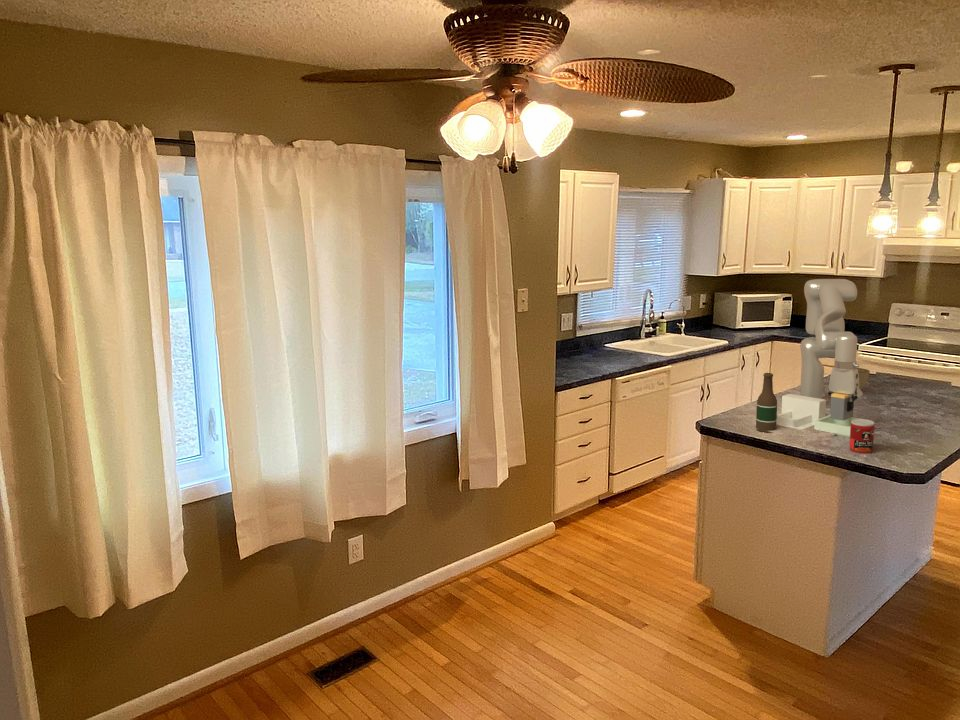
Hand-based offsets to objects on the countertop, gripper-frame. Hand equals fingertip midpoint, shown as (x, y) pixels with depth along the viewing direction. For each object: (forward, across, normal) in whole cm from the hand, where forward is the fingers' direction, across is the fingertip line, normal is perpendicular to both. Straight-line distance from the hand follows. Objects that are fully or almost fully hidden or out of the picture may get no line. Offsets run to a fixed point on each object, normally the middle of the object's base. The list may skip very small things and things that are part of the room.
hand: (842, 409), depth 276 cm
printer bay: (+9, +18, +2) cm, 20 cm away
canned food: (+10, -16, +20) cm, 27 cm away
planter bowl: (+9, +28, -74) cm, 80 cm away
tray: (+9, 0, 0) cm, 9 cm away
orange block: (+3, 0, 0) cm, 3 cm away
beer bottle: (+9, +21, +20) cm, 30 cm away
